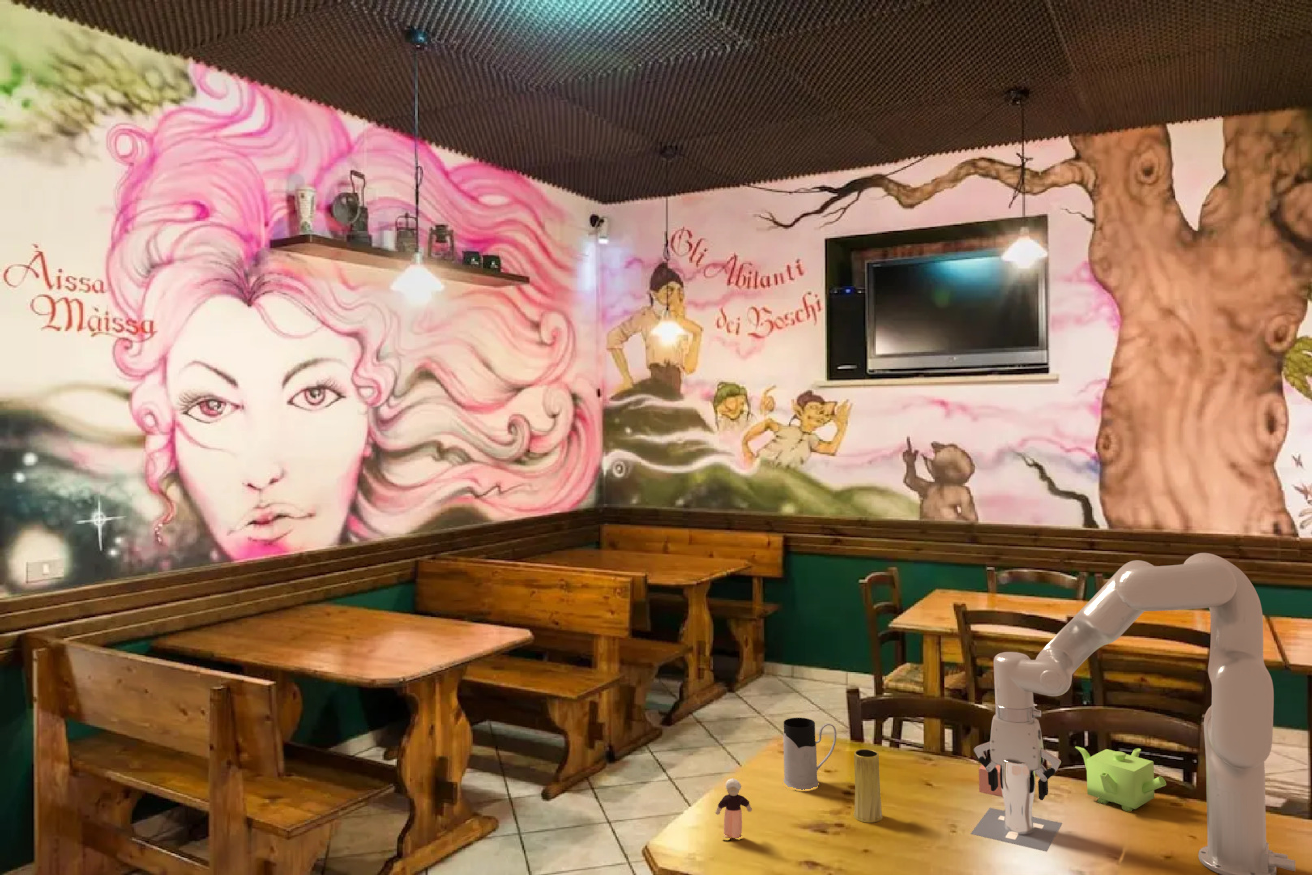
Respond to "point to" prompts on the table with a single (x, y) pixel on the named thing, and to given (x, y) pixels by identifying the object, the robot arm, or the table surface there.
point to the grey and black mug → (802, 753)
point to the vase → (867, 786)
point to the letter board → (1037, 840)
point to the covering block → (983, 782)
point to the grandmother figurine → (733, 809)
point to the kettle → (1121, 778)
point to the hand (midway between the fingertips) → (1018, 793)
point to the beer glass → (1017, 797)
